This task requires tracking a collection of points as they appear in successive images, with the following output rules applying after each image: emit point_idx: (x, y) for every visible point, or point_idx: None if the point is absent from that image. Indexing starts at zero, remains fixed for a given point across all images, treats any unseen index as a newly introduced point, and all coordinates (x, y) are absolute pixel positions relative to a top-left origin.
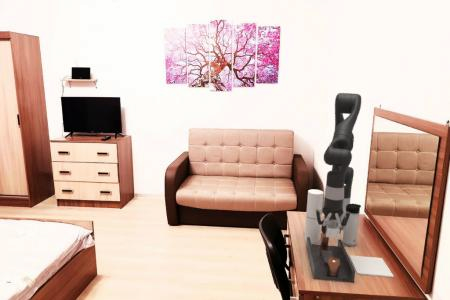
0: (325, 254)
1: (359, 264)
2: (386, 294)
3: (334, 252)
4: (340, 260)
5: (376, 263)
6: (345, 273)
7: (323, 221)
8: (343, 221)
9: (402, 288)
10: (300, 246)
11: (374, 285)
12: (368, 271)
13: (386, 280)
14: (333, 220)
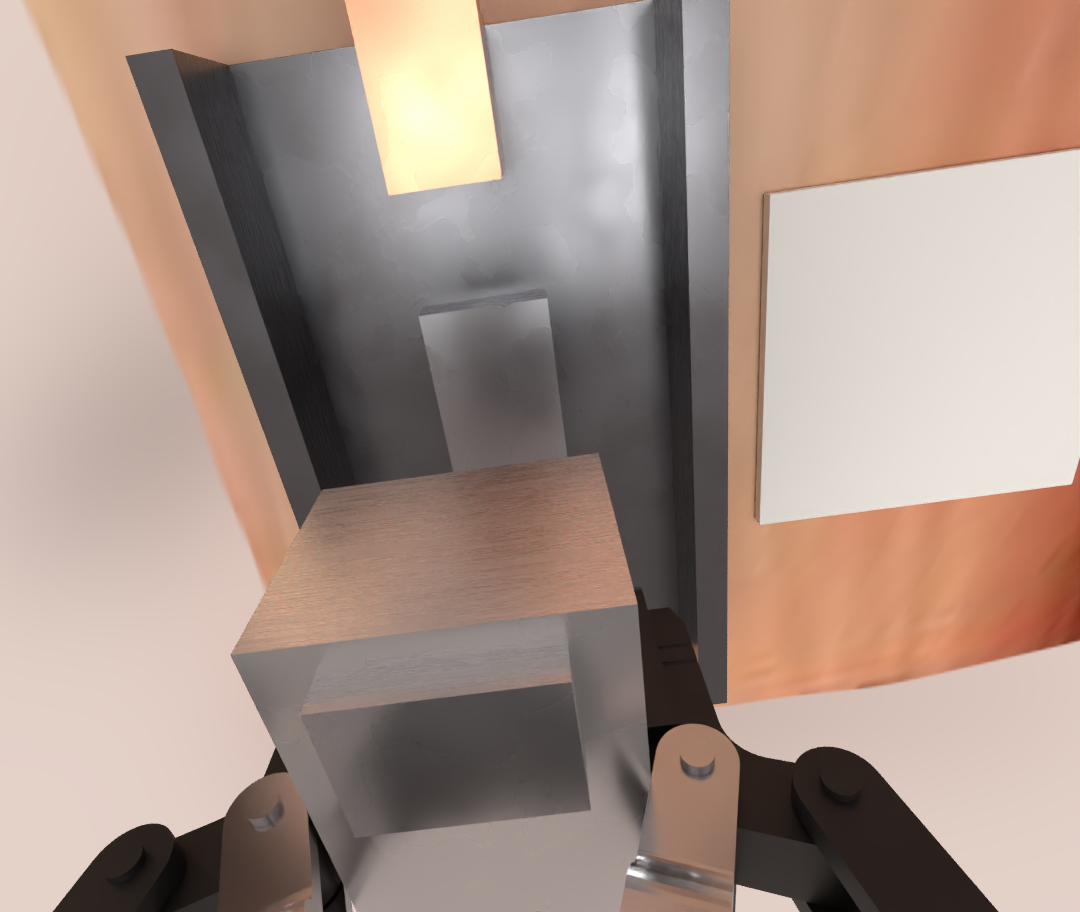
0: (473, 404)
1: (826, 375)
2: (885, 678)
3: (589, 229)
4: (637, 399)
5: (1026, 298)
6: (648, 596)
7: (264, 874)
8: (852, 852)
9: (1043, 592)
10: (137, 97)
11: (843, 613)
12: (870, 473)
13: (973, 530)
14: (552, 794)
